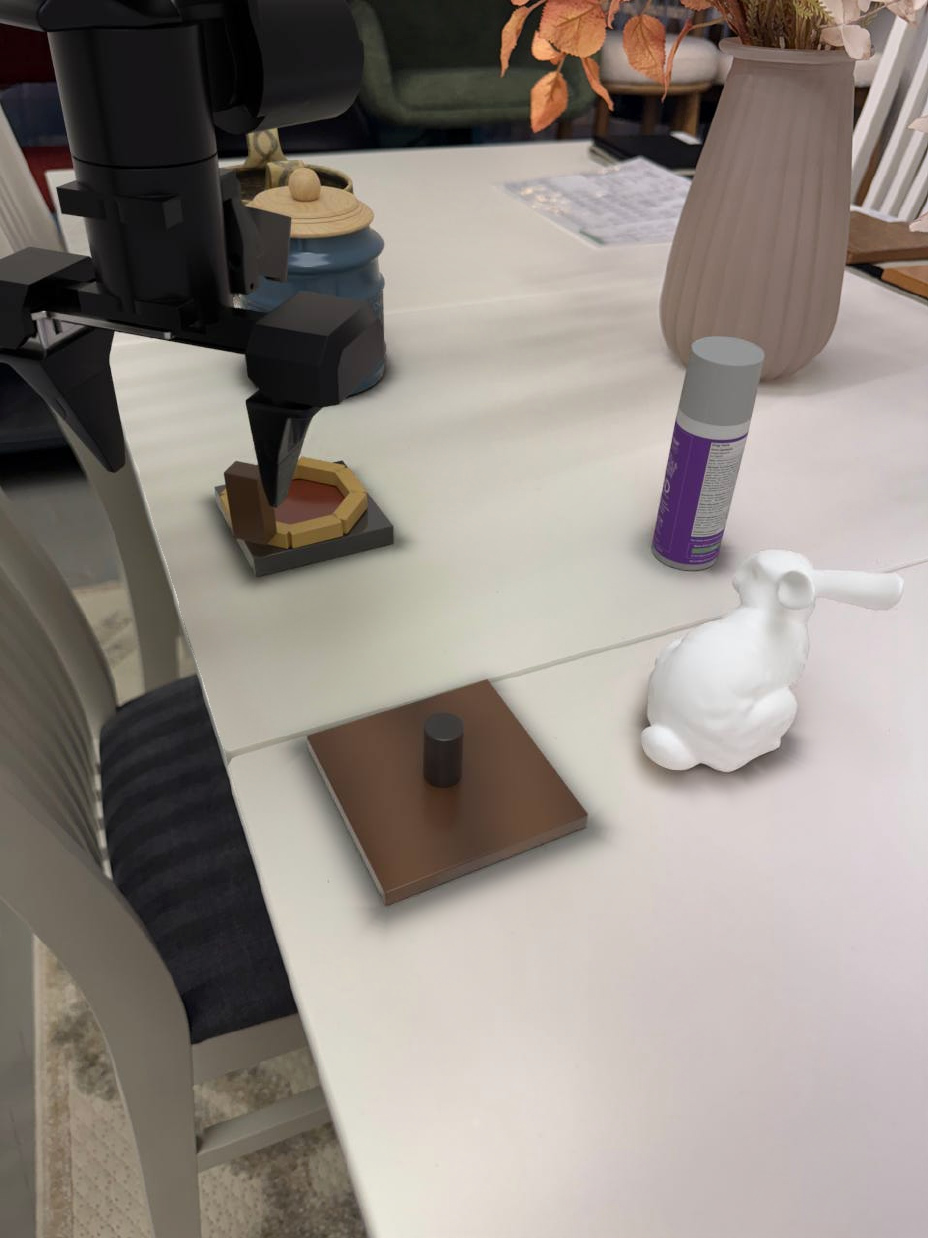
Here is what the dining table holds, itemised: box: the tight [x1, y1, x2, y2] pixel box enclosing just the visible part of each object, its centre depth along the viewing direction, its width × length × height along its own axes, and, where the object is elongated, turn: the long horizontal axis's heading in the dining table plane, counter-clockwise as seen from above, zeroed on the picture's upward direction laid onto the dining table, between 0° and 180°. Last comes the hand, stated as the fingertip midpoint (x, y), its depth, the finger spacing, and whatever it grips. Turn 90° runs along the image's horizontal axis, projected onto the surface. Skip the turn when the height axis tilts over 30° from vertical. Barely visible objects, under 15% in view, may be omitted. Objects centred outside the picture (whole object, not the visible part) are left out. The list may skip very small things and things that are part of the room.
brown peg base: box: [306, 678, 589, 906], centre depth 48 cm, size 11×11×4 cm
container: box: [651, 335, 766, 571], centre depth 63 cm, size 5×5×15 cm
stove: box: [213, 459, 395, 578], centre depth 68 cm, size 10×10×2 cm
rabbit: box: [640, 549, 905, 773], centre depth 49 cm, size 12×9×12 cm
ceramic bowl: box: [222, 128, 355, 206], centre depth 101 cm, size 22×17×15 cm
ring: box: [220, 456, 368, 549], centre depth 65 cm, size 10×11×6 cm
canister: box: [238, 168, 387, 396], centre depth 83 cm, size 13×13×18 cm
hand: (195, 485), depth 48 cm, fingers open, 9 cm apart
